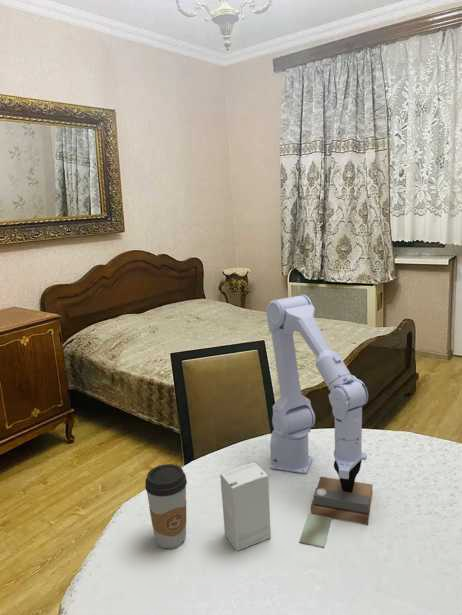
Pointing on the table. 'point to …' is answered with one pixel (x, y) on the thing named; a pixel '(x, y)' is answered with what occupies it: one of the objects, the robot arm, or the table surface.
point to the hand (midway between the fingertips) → (347, 490)
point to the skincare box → (246, 505)
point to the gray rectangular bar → (341, 500)
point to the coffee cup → (167, 504)
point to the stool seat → (332, 513)
